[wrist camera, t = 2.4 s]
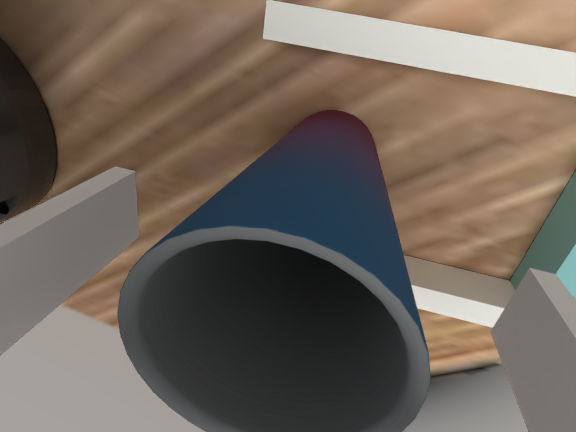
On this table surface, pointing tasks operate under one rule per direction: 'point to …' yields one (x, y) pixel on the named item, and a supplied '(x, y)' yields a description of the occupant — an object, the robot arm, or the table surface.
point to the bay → (467, 62)
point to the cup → (284, 297)
